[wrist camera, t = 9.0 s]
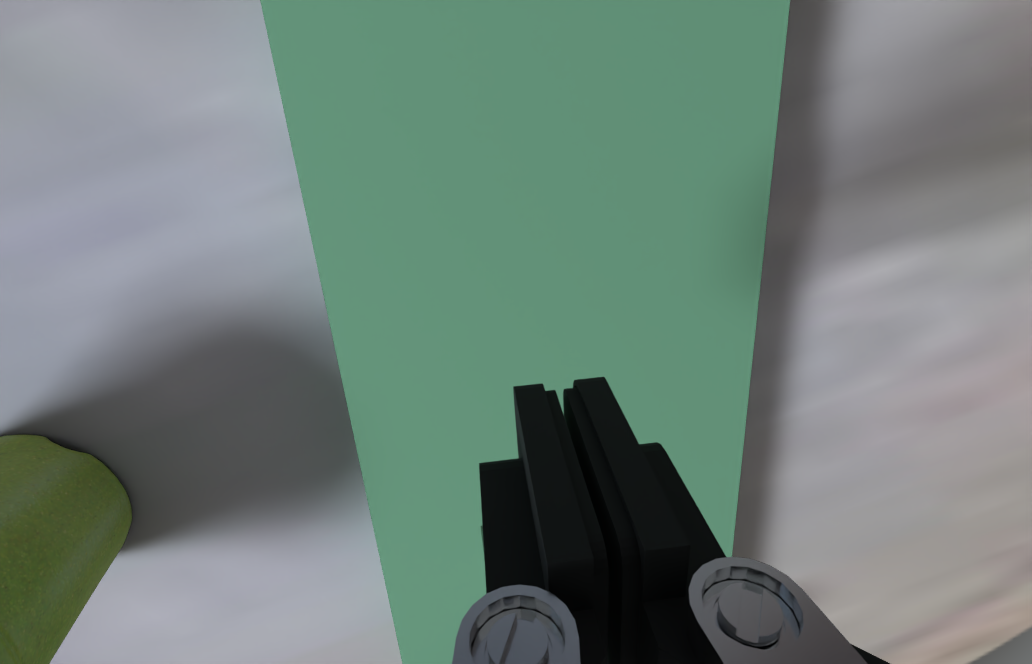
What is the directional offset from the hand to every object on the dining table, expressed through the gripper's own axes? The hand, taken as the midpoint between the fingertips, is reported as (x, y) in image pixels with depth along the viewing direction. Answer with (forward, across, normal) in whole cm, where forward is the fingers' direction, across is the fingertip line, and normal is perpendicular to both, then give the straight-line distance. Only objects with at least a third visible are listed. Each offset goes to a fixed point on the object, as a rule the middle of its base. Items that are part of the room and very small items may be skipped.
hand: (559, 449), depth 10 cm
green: (+9, -1, +4) cm, 10 cm away
